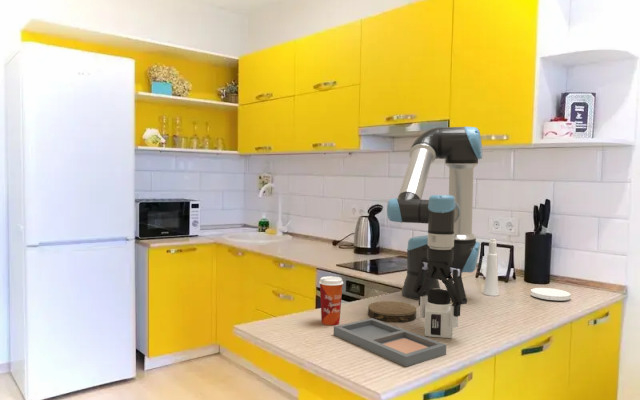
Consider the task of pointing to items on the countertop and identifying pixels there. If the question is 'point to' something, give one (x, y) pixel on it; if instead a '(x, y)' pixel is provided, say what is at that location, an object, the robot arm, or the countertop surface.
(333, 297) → the paper cup
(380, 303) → the brown disc
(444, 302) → the container
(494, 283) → the cosmetic bottle
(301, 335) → the countertop surface
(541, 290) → the plastic lid
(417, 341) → the two-bay tray
